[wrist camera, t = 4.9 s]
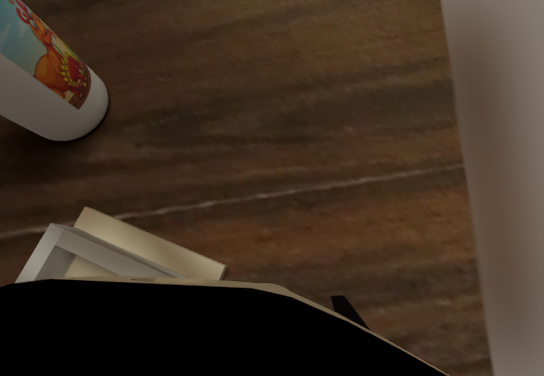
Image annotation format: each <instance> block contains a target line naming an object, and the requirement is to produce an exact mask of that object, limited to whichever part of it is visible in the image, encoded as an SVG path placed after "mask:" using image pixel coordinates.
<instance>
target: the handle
mask: <svg viewBox="0 0 544 376" xmlns="http://www.w3.org/2000/svg"><path fill="white" fill-rule="evenodd" d="M0 376H449V375H448V374H446V373H444V372H443V371H441V370H439V369H437V368H436V367H434V366H432V365H430V364H429V363H427V362H425V361H423V360H422V359H420V358H418V357H416V356H415V355H413V354H411V353H409V352H408V351H406V350H404V349H402V348H401V347H399V346H397V345H395V344H393V343H392V342H390V341H388V340H386V339H385V338H383V337H381V336H379V335H377V334H375V333H373V332H371V331H370V330H368V329H366V328H364V327H362V326H360V325H358V324H356V323H355V322H353V321H351V320H349V319H347V318H345V317H343V316H341V315H340V314H338V313H336V312H334V311H331V310H329V309H327V308H325V307H323V306H321V305H318V304H316V303H314V302H312V301H310V300H308V299H305V298H303V297H301V296H299V295H297V294H295V293H292V292H290V291H289V290H287V289H286V288H284V287H282V286H279V285H276V284H269V283H258V284H256V283H250V282H236V281H222V280H206V279H186V278H163V277H135V276H92V277H68V278H54V279H44V280H36V281H27V282H20V283H13V284H8V285H6V286H3V287H0Z"/></svg>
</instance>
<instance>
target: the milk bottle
mask: <svg viewBox="0 0 544 376" xmlns="http://www.w3.org/2000/svg"><path fill="white" fill-rule="evenodd" d="M108 99H109V98H108V93H107V90H106V87H105V85H104V83H103V82H102V81H101V80H100V78H99V77H98V76H97V75H96V74H95V73H94V72H93V71H92V70H91V69H90V68H89V67H88V66H87V65H86V64H85V63H84V62H83V61H82V60H81V59H80V58H79V57H78V56H77V55H76V54H75V53H74V52H73V51H72V50H71V49H70V48H69V47H68V46H67V45H66V44H65V43H64V42H63V41H62V40H61V39H60V38H59V37H58V36H57V35H56V34H55V33H54V32H53V31H52V30H51V29H50V28H49V27H47V26H46V25H45V24H44V23H43V22H42V21H41V20H40V19H39V18H38V17H37V16H36V15H35V14H34V13H33V12H32V11H31V10H30V9H29V8H28V7H27V6H26V5H25V4H24V3H23V2H22V1H21V0H0V115H2V116H4V117H6V118H7V119H9V120H11V121H13V122H15V123H17V124H19V125H21V126H23V127H25V128H27V129H28V130H30V131H32V132H34V133H36V134H38V135H40V136H42V137H45V138H47V139H50V140H56V141H68V140H74V139H77V138H80V137H82V136H84V135H86V134H88V133H89V132H90V131H92V130H93V129H94V128H95V127H96V126H97V125H98V124H99V123H100V122H101V120H102V119H103V118H104V115H105V113H106V111H107V107H108Z"/></svg>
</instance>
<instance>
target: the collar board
mask: <svg viewBox="0 0 544 376" xmlns="http://www.w3.org/2000/svg"><path fill="white" fill-rule="evenodd" d="M227 267H228V266H226V265H224V264H222V263H219V262H217V261H215V260H212V259H210V258H208V257H205V256H203V255H201V254H198V253H196V252H194V251H191V250H189V249H187V248H184V247H182V246H180V245H177V244H175V243H172V242H170V241H168V240H165V239H163V238H161V237H158V236H156V235H154V234H151V233H149V232H147V231H144V230H142V229H140V228H137V227H135V226H133V225H130V224H128V223H126V222H123V221H121V220H118V219H116V218H114V217H111V216H109V215H107V214H104V213H102V212H100V211H97V210H95V209H92V208H89V207H85V208H84V210H83V211H82V213H81V215H80V216H79V218H78V220H77V222H76V223H75V225H74V227H69V226H64V225H59V224H53V223H51V224H50V226H49V227H48V229H47V231H46V232H45V234H44V235H43V237H42V239H41V240H40V242H39V244H38V245H37V247H36V249H35V250H34V252H33V254H32V255H31V257H30V259H29V260H28V262H27V264H26V265H25V267H24V269H23V270H22V272H21V274H20V275H19V277H18V279H17V280H16V282H15V283H20V282H27V281H36V280H44V279H54V278H68V277H92V276H135V277H163V278H186V279H206V280H222V279H223V276H224V274H225V271H226V269H227Z"/></svg>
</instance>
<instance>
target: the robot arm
mask: <svg viewBox="0 0 544 376" xmlns="http://www.w3.org/2000/svg"><path fill="white" fill-rule="evenodd" d="M330 310H331V311H334V312H336V313H338V314H340V315H341V316H343V317H345V318H347V319H349V320H351V321H353V322H355V323H356V324H358V325H360V326H362V327H364V328H366V329H368V330H370V329H369V328H368V326H367V325H366V324H365V322H364V321H363V320H362V318H361V317H360V316H359V315H358V313H357V312H356V311H355V309H354V308H353V307H352V305H351V304H350V303H349V301H348V300H347V299H346V298H345V297H344V296H342V295H338V296H331V297H330ZM370 331H371V330H370ZM371 332H372V331H371Z"/></svg>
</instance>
